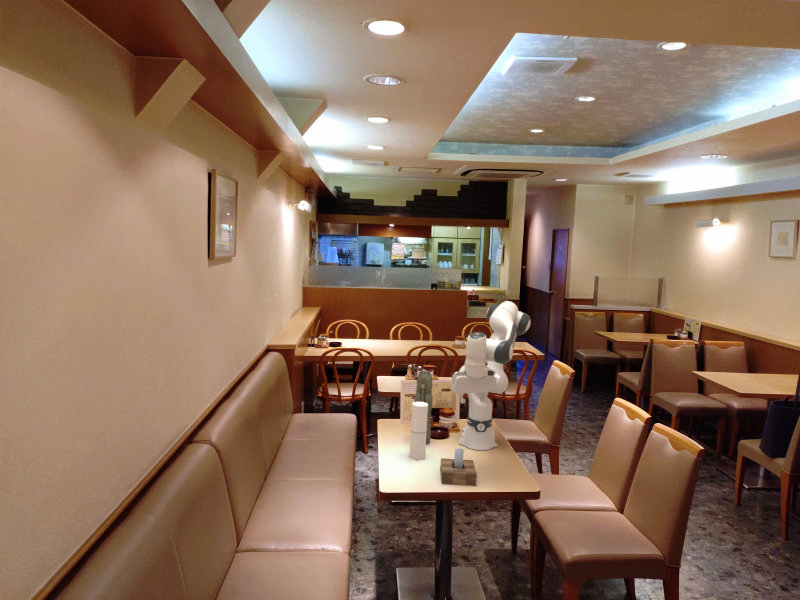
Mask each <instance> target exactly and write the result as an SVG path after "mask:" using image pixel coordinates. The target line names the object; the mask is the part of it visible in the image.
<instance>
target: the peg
mask: <svg viewBox="0 0 800 600" xmlns="http://www.w3.org/2000/svg"><path fill="white" fill-rule="evenodd" d="M464 450H465V449H463V448H461V447H460V448H459V447H458V448H455V449H454V459H455V460H454V468H457V469H463V460H464Z"/></svg>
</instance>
